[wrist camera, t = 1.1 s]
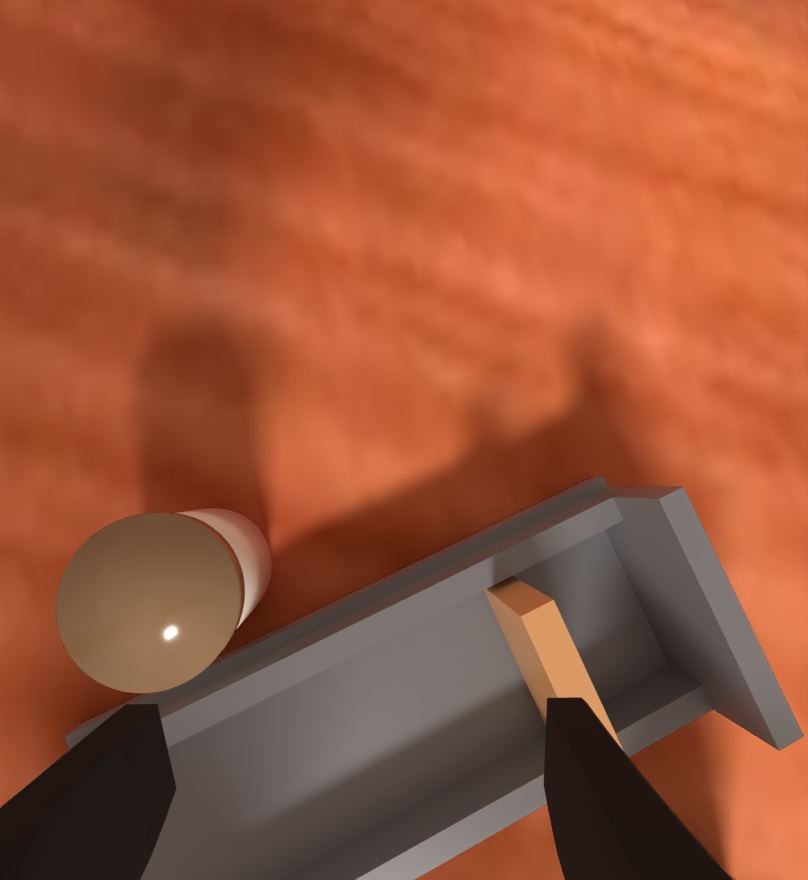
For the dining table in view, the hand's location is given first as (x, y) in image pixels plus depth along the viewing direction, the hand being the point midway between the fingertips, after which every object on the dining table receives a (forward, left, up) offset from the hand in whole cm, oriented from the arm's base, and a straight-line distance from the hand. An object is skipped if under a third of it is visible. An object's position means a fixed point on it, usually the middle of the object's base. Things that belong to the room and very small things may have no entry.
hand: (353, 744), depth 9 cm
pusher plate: (+6, -5, -11) cm, 13 cm away
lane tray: (0, -5, -12) cm, 13 cm away
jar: (-5, +4, -12) cm, 14 cm away
